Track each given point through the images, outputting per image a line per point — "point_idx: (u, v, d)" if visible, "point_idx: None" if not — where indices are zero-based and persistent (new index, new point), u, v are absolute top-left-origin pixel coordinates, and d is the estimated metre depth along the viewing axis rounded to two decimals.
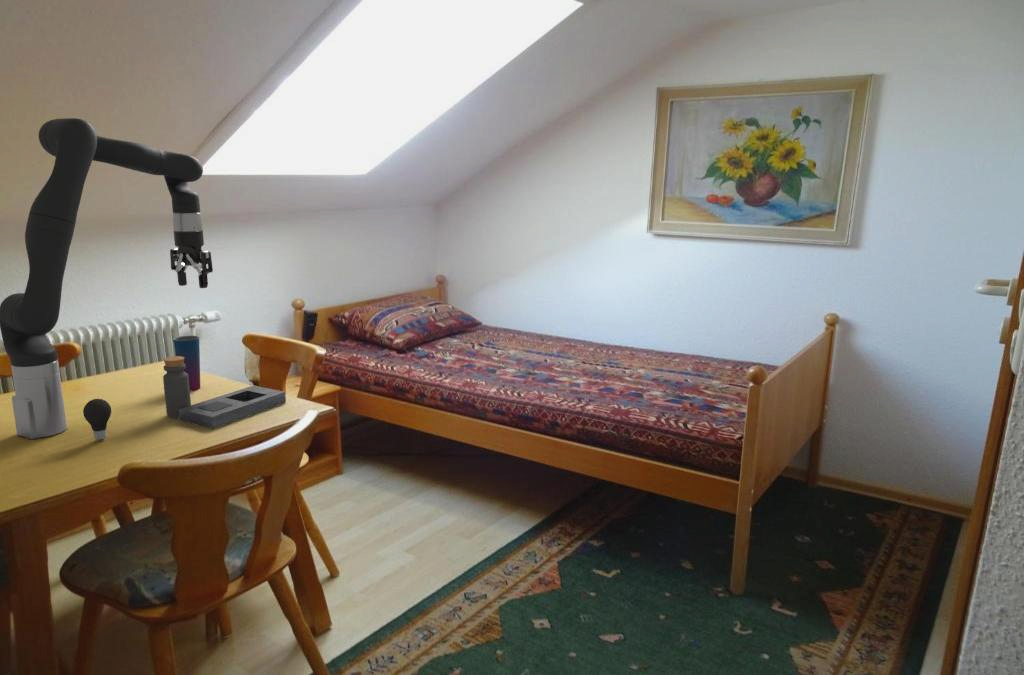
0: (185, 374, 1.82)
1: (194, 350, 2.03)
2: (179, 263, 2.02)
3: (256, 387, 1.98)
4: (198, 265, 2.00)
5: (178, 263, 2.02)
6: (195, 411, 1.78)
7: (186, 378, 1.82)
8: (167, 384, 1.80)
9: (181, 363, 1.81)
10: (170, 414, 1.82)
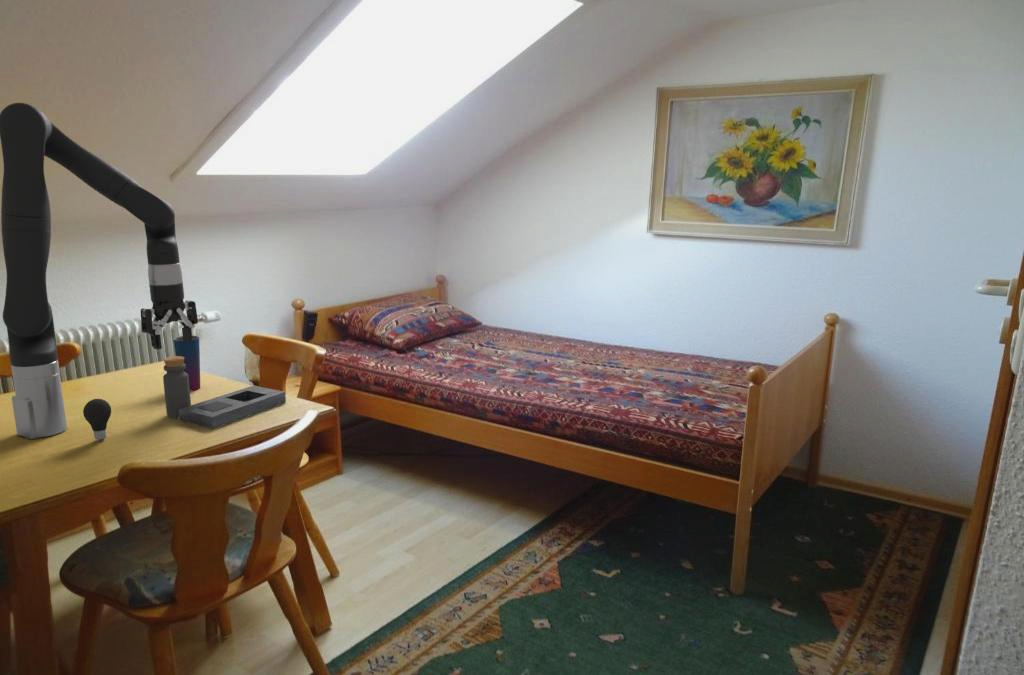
0: (185, 374, 1.82)
1: (194, 350, 2.03)
2: (165, 321, 1.76)
3: (256, 387, 1.98)
4: None
5: (163, 322, 1.75)
6: (195, 411, 1.78)
7: (186, 378, 1.82)
8: (167, 384, 1.80)
9: (181, 363, 1.81)
10: (170, 414, 1.82)
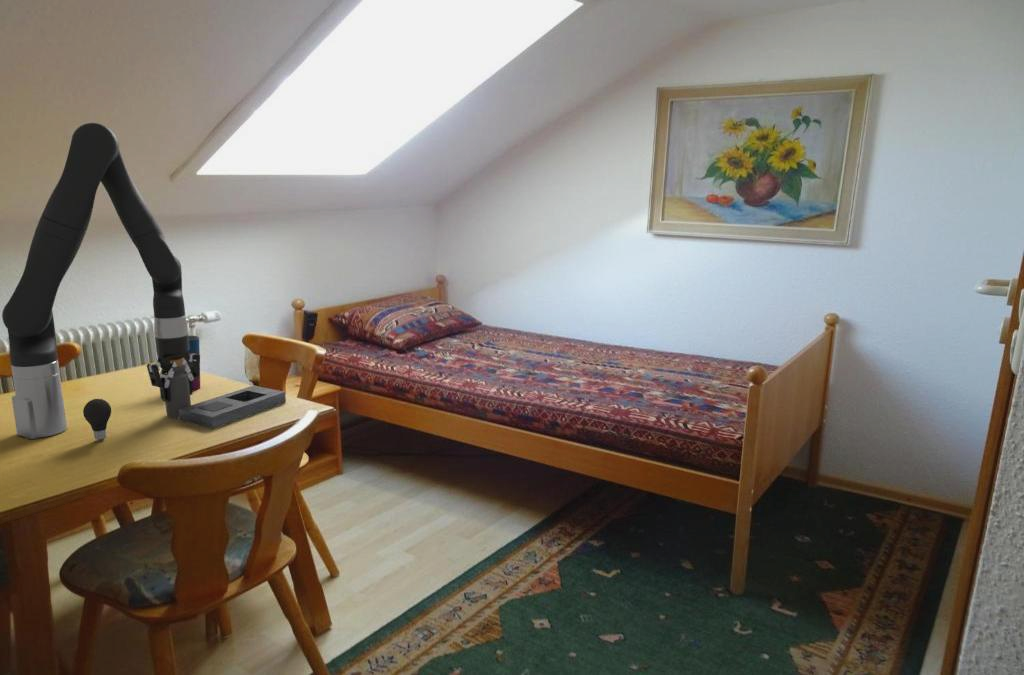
0: (185, 374, 1.82)
1: (194, 350, 2.03)
2: (172, 374, 1.79)
3: (256, 387, 1.98)
4: None
5: (170, 375, 1.79)
6: (195, 411, 1.78)
7: (186, 378, 1.82)
8: None
9: (181, 363, 1.81)
10: (170, 414, 1.82)
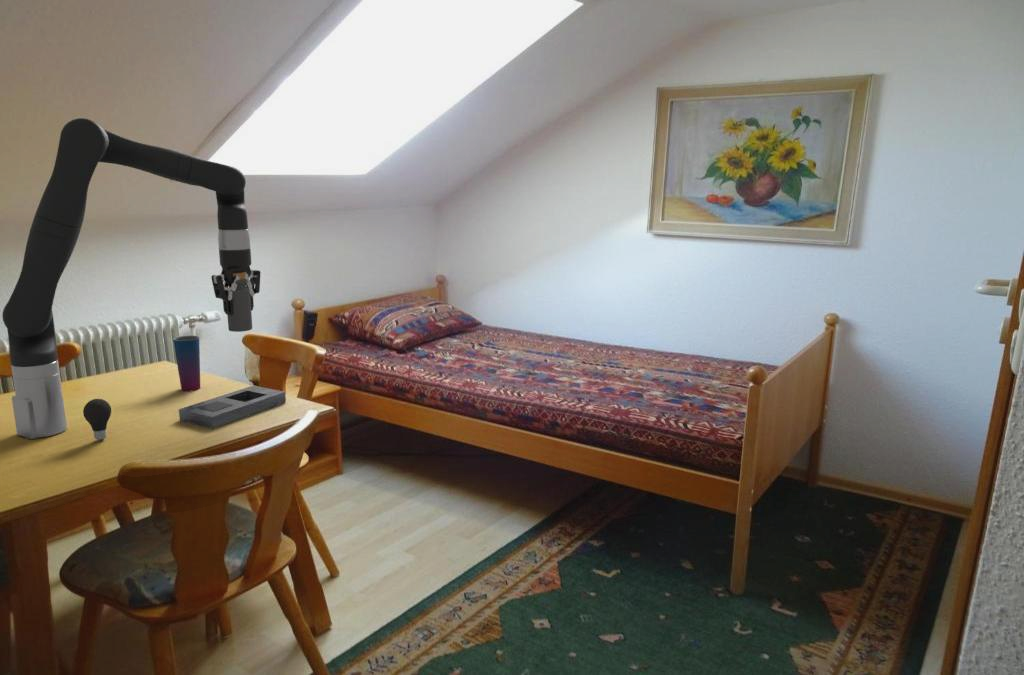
0: (247, 288, 1.84)
1: (194, 350, 2.03)
2: (235, 286, 1.81)
3: (256, 387, 1.98)
4: None
5: (234, 288, 1.81)
6: (195, 411, 1.78)
7: (248, 292, 1.84)
8: None
9: (243, 277, 1.83)
10: (232, 328, 1.84)
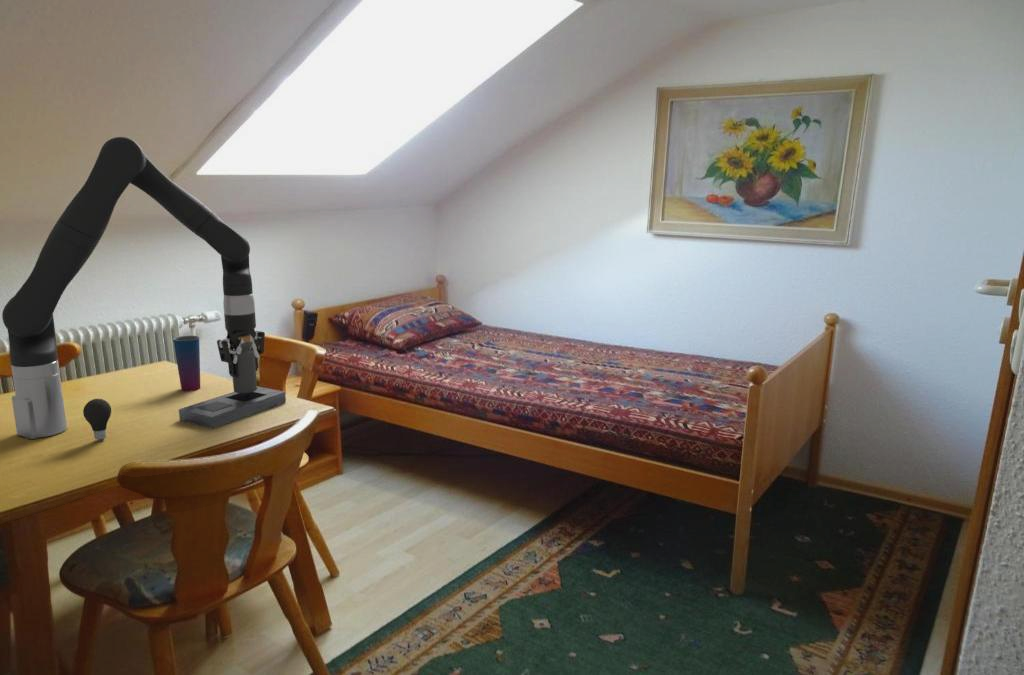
0: (252, 350, 1.88)
1: (194, 350, 2.03)
2: (240, 350, 1.85)
3: None
4: None
5: (239, 351, 1.85)
6: (195, 411, 1.78)
7: (253, 354, 1.87)
8: None
9: (248, 340, 1.86)
10: (237, 390, 1.87)
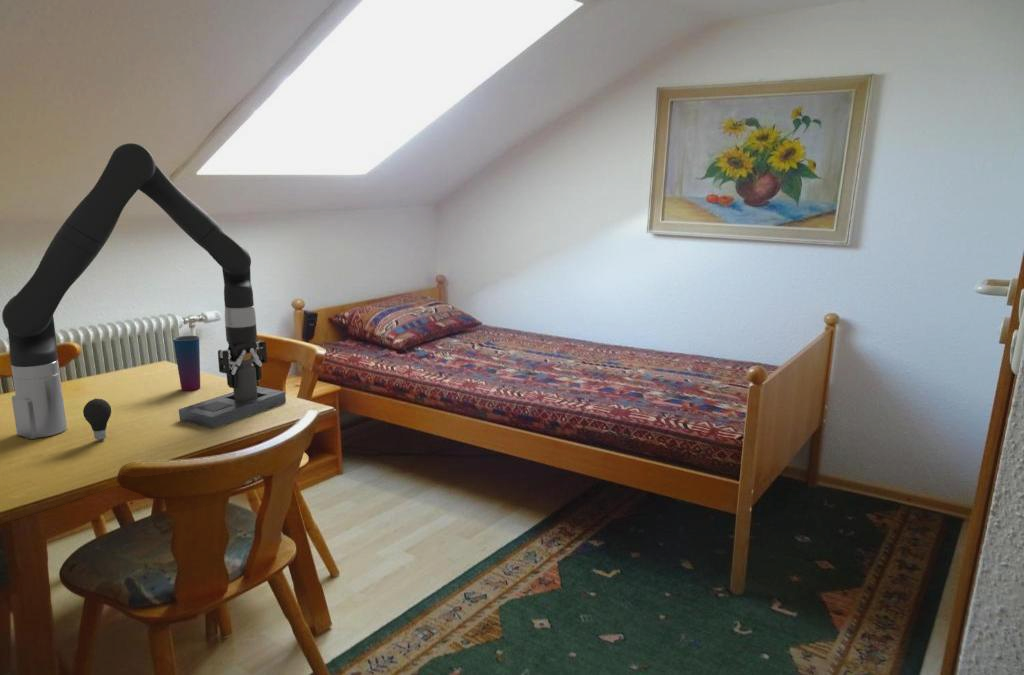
0: (253, 368, 1.89)
1: (194, 350, 2.03)
2: (240, 361, 1.85)
3: None
4: None
5: (238, 362, 1.85)
6: (195, 411, 1.78)
7: (254, 371, 1.88)
8: (236, 377, 1.86)
9: (249, 357, 1.87)
10: None
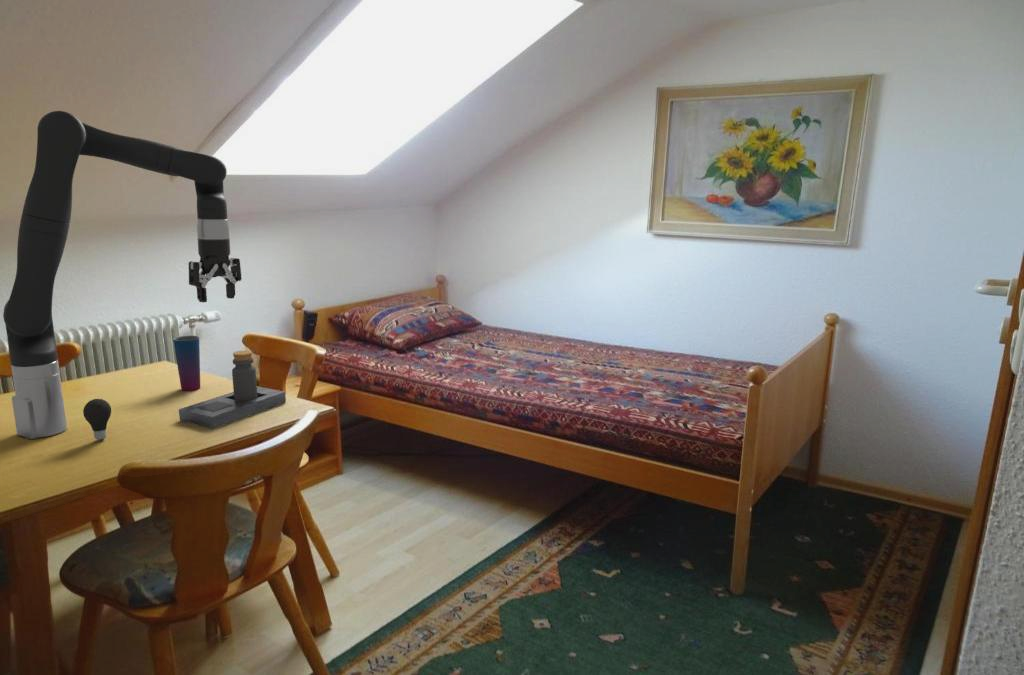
0: (253, 368, 1.89)
1: (194, 350, 2.03)
2: (211, 275, 1.81)
3: None
4: None
5: (209, 276, 1.80)
6: (195, 411, 1.78)
7: (254, 371, 1.88)
8: (236, 377, 1.86)
9: (249, 357, 1.87)
10: None
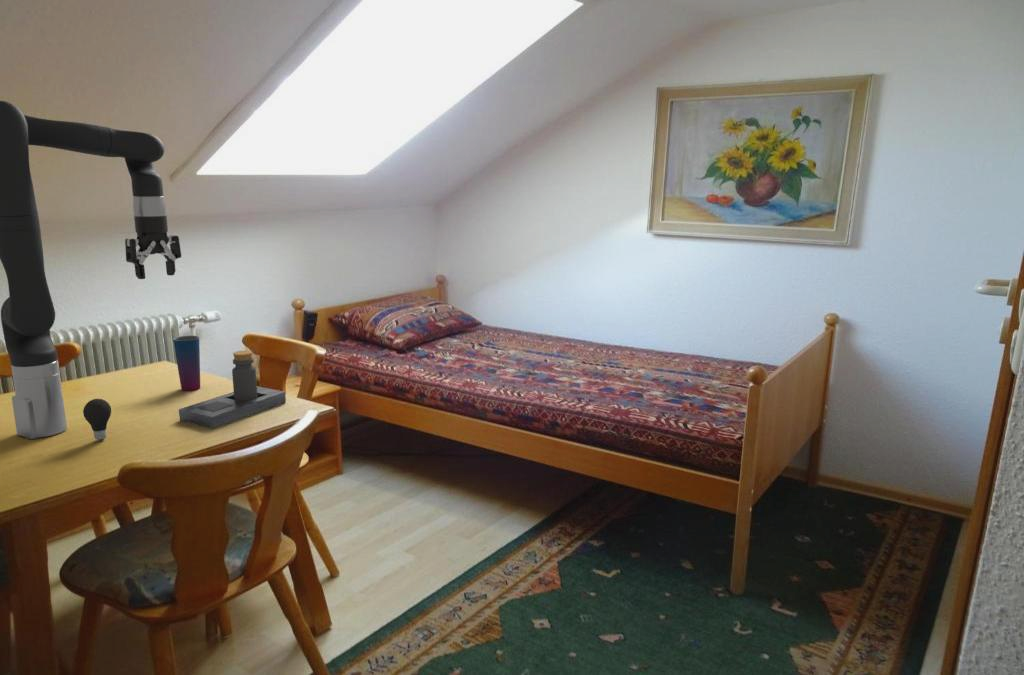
0: (253, 368, 1.89)
1: (194, 350, 2.03)
2: (148, 252, 1.83)
3: None
4: None
5: (147, 253, 1.83)
6: (195, 411, 1.78)
7: (254, 371, 1.88)
8: (236, 377, 1.86)
9: (249, 357, 1.87)
10: None
